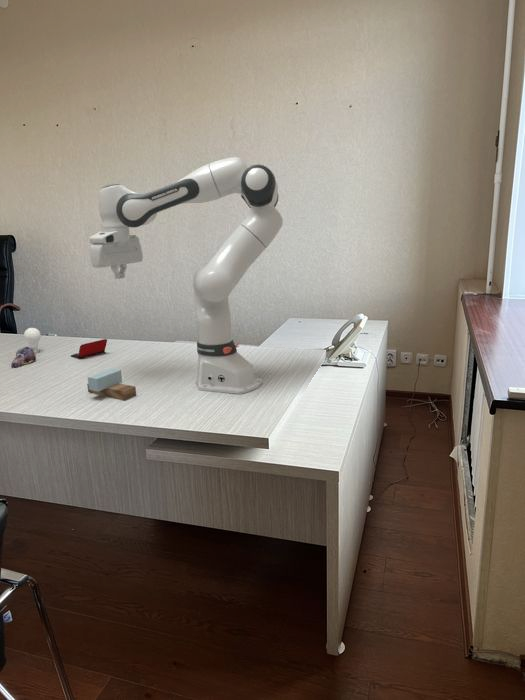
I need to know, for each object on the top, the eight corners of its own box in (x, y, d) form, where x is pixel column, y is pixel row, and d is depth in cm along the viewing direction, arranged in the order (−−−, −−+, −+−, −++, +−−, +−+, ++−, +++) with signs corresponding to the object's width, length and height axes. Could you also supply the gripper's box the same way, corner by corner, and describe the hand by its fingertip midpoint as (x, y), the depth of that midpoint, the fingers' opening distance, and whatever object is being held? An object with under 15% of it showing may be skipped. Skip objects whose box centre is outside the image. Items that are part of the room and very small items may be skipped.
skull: (20, 370, 197) (17, 354, 196) (2, 369, 199) (0, 353, 198) (40, 360, 209) (38, 345, 207) (24, 360, 211) (21, 345, 209)
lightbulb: (39, 355, 215) (35, 329, 212) (23, 356, 216) (19, 329, 213) (45, 351, 221) (42, 325, 219) (30, 352, 222) (26, 326, 219)
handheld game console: (96, 351, 221) (94, 335, 219) (109, 355, 214) (107, 338, 212) (69, 357, 212) (67, 340, 210) (82, 362, 206) (80, 344, 204)
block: (98, 391, 162) (122, 381, 170) (96, 379, 161) (121, 369, 169) (89, 389, 164) (113, 380, 172) (87, 377, 163) (112, 368, 171)
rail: (136, 395, 166) (135, 386, 165) (124, 400, 162) (123, 391, 161) (100, 388, 174) (99, 379, 173) (88, 392, 170) (87, 383, 169)
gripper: (131, 234, 184) (135, 274, 188) (85, 238, 167) (90, 281, 171) (145, 234, 181) (148, 275, 185) (99, 238, 164) (103, 282, 168)
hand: (120, 278), depth 178 cm, fingers closed
